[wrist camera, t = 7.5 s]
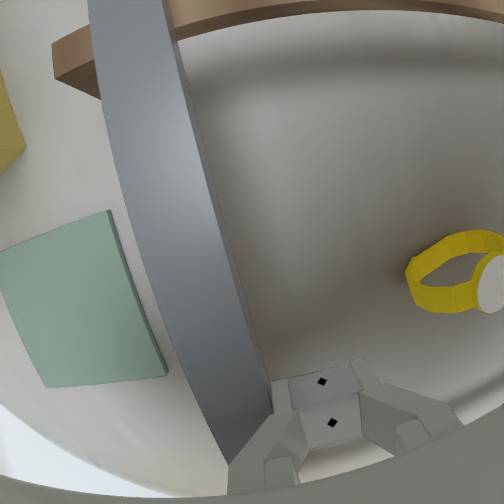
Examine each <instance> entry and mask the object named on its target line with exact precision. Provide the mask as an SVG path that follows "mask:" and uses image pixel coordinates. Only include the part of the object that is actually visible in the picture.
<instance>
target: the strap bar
mask: <svg viewBox="0 0 504 504" xmlns="http://www.w3.org/2000/svg"><path fill="white" fill-rule="evenodd" d="M88 11H89V21H90V30H91V38H92V46H93V53H94V60H95V67H96V73H97V79H98V85H99V91H100V96H101V102H102V107H103V112H104V117H105V122H106V127H107V131H108V136H109V140H110V145H111V149H112V154H113V158H114V162H115V166H116V170H117V174H118V178H119V182H120V186H121V190H122V193H123V197H124V201H125V204H126V208H127V211H128V215H129V218H130V222H131V225H132V229H133V232H134V235H135V238H136V242H137V245H138V248H139V251H140V254H141V258H142V261H143V264H144V267H145V270H146V273H147V276H148V279H149V282H150V284H151V287H152V290H153V293H154V296H155V299H156V301H157V304H158V307H159V310H160V312H161V315H162V318H163V320H164V323H165V326H166V328H167V331H168V334H169V336H170V339H171V341H172V344H173V346H174V349H175V351H176V354H177V356H178V359H179V361H180V363H181V366H182V368H183V370H184V373H185V375H186V378H187V380H188V382H189V384H190V387H191V389H192V391H193V394H194V396H195V398H196V400H197V402H198V405H199V407H200V409H201V411H202V413H203V415H204V417H205V420H206V422H207V424H208V426H209V428H210V430H211V432H212V434H213V436H214V438H215V440H216V442H217V444H218V446H219V448H220V450H221V452H222V454H223V456H224V458H225V460H226V462H227V464H228V466H229V464H230V463H231V462H232V461H233V459H234V458H235V457H236V456H237V455H238V454H239V452H240V451H241V450H242V449H243V448H244V446H245V445H246V444H247V443H248V441H249V440H250V439H251V438H252V437H253V435H254V434H255V433H256V432H257V430H258V429H259V428H260V426H261V425H262V424H263V423H264V421H265V420H266V419H267V418H268V416H269V415H273V414H274V411H273V401H272V392H271V385H270V382H269V378H268V375H267V371H266V368H265V365H264V361H263V358H262V354H261V351H260V348H259V344H258V341H257V337H256V334H255V330H254V327H253V323H252V320H251V316H250V313H249V309H248V306H247V302H246V299H245V295H244V292H243V288H242V285H241V281H240V278H239V274H238V270H237V267H236V263H235V260H234V256H233V252H232V249H231V245H230V242H229V238H228V234H227V231H226V227H225V223H224V220H223V216H222V212H221V209H220V205H219V201H218V197H217V194H216V190H215V186H214V183H213V179H212V175H211V171H210V167H209V164H208V160H207V156H206V152H205V148H204V145H203V141H202V137H201V133H200V129H199V125H198V121H197V118H196V114H195V110H194V106H193V102H192V98H191V94H190V90H189V86H188V82H187V78H186V74H185V70H184V66H183V62H182V58H181V54H180V50H179V46H178V41H177V37H176V33H175V29H174V25H173V21H172V17H171V12H170V8H169V4H168V0H88ZM297 480H298V483H299V484H301V483H300V480H299V477H298V474H297Z"/></svg>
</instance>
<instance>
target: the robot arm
mask: <svg viewBox="0 0 504 504" xmlns="http://www.w3.org/2000/svg"><path fill="white" fill-rule="evenodd" d="M287 379H288V380H287ZM287 379H286V378H285V379H281V380H276V381H272V382H271V392H272V401H273V411H274V414H273V415H269V416H268V418H267V419H266V420H265V421H264V423H263V424H262V425H261V426H260V428H259V429H258V430H257V432H256V433H255V434H254V435H253V437H252V438H251V439H250V440H249V441H248V443H247V444H246V445H245V446H244V448H243V449H242V450H241V451H240V452H239V454H238V455H237V456H236V457H235V458H234V459H233V461H232V462H231V463H230V464H229V469H228V486H227V495H221V496H208V497H189V498H141V497H123V496H109V495H100V494H91V493H83V492H77V491H70V490H64V489H58V488H53V487H48V486H43V485H38V484H34V483H29V482H25V481H21V480H17V479H14V478H10V477H7V476H4V475H0V504H504V404H502V405H501V406H499V407H497V408H496V409H494V410H492V411H491V412H489V413H487V414H485V415H484V416H482V417H480V418H478V419H476V420H475V421H473V422H471V423H469V424H467V425H465V426H464V425H463V424H462V422H461V421H460V420H459V418H458V417H457V416H456V414H455V413H454V412H453V411H452V409H451V408H450V407H449V405H448V404H447V403H444V402H441V401H438V400H434V399H431V398H428V397H425V396H422V395H419V394H416V393H413V392H410V391H407V390H404V389H401V388H398V387H395V386H392V385H389V384H386V383H385V384H382V385H381V383H380V382H379V380H378V378H377V377H376V375H375V373H374V372H373V370H372V369H371V367H370V365H369V364H368V362H367V360H366V359H365V358H364V357H361V358H358V359H355V360H352V361H349V362H348V363H344V364H341V365H338V366H334V367H331V368H328V369H324V370H321V371H315V372H311V373H307V374H303V375H299V376H294V377H290V378H287ZM360 435H363V436H364V437H365V438H367V439H368V440H370V441H372V442H373V443H375V444H376V445H378V446H380V447H381V448H383V449H384V450H386V451H388V452H389V453H391V454H393V455H394V456H395V457H392V458H389V459H386V460H383V461H381V462H378V463H375V464H372V465H369V466H366V467H362V468H359V469H356V470H353V471H349V472H346V473H342V474H339V475H335V476H331V477H327V478H323V479H319V480H315V481H311V482H306V483H302V484H299V483H298V480H297V474H298V472H299V470H300V468H301V466H302V464H303V462H304V460H305V458H306V456H307V454H308V452H309V449H313V448H316V447H320V446H323V445H327V444H330V443H334V442H337V441H341V440H345V439H349V438H352V437H356V436H360Z"/></svg>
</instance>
